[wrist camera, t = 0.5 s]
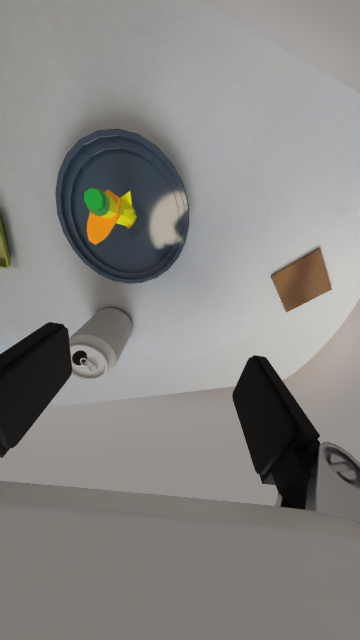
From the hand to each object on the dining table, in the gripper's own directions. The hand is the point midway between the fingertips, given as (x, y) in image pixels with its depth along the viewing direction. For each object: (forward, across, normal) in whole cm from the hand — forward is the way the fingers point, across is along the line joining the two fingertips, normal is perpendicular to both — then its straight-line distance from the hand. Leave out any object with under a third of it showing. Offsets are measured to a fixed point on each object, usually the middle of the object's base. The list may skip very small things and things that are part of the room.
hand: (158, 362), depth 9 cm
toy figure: (+23, +8, -7) cm, 25 cm away
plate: (+23, +8, -6) cm, 25 cm away
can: (+23, +10, +12) cm, 28 cm away
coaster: (+23, -22, -3) cm, 32 cm away
